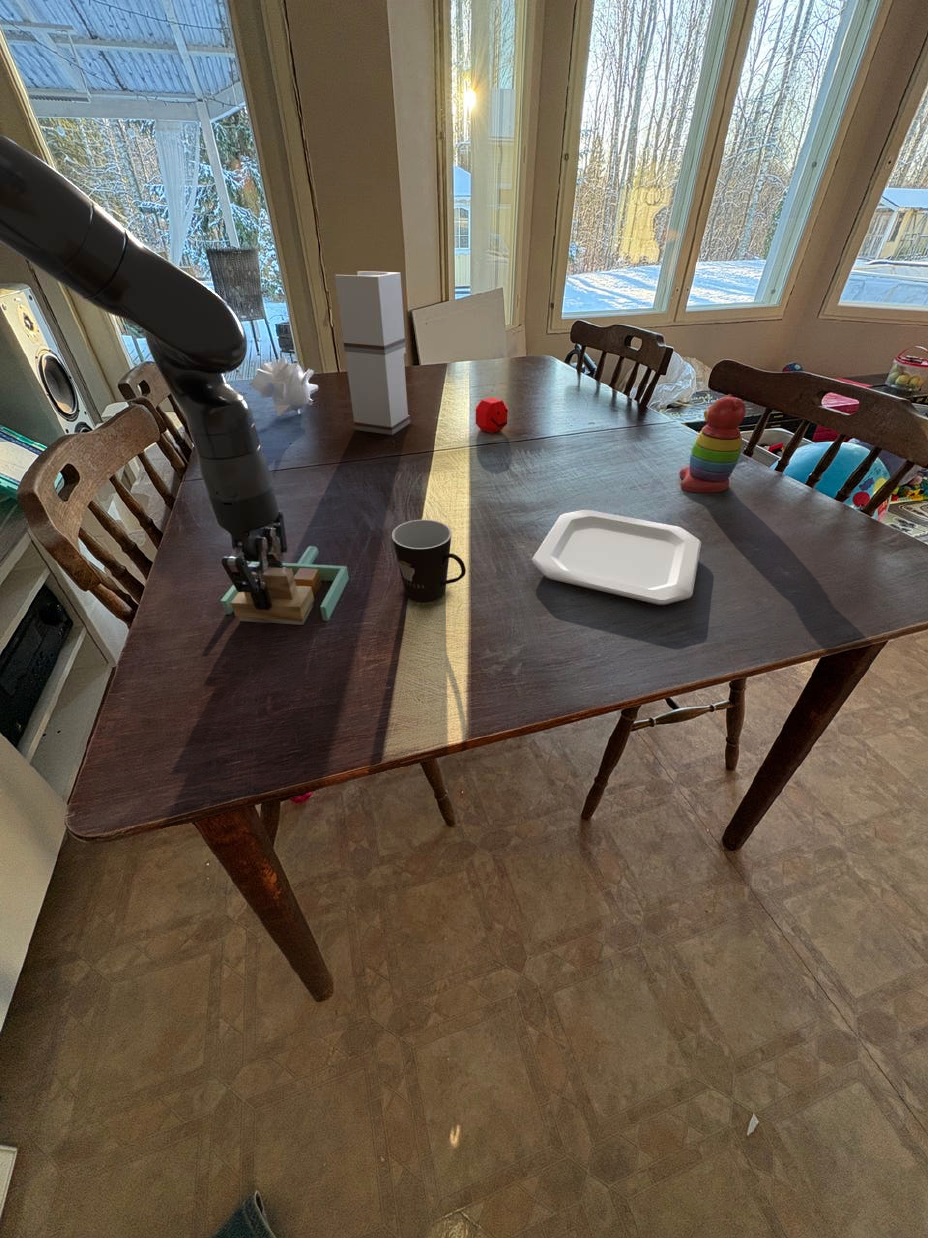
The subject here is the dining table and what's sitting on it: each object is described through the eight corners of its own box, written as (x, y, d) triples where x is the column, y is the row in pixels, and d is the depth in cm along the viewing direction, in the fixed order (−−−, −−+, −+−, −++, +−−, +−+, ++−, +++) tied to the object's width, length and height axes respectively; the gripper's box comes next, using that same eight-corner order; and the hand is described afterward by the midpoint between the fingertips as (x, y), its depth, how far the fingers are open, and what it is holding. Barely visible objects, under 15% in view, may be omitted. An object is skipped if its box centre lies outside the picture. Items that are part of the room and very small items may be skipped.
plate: (523, 581, 82) (524, 569, 80) (564, 515, 99) (566, 504, 98) (686, 620, 74) (690, 608, 72) (700, 541, 91) (703, 530, 90)
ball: (490, 436, 134) (491, 406, 129) (470, 429, 138) (470, 399, 134) (512, 430, 138) (513, 400, 133) (491, 422, 143) (492, 394, 138)
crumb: (315, 596, 79) (312, 579, 77) (297, 594, 79) (292, 578, 77) (322, 584, 81) (318, 569, 79) (303, 583, 81) (299, 568, 79)
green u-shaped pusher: (328, 621, 74) (325, 607, 72) (225, 614, 75) (220, 600, 74) (358, 559, 87) (356, 546, 85) (270, 554, 88) (267, 542, 87)
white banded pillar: (410, 422, 143) (400, 272, 121) (392, 434, 135) (377, 276, 114) (375, 418, 146) (358, 270, 125) (355, 429, 139) (334, 274, 117)
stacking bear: (678, 471, 116) (700, 387, 105) (726, 476, 113) (754, 391, 102) (680, 491, 108) (704, 402, 96) (731, 496, 105) (763, 407, 94)
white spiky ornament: (310, 373, 136) (263, 333, 133) (278, 426, 142) (233, 389, 140) (336, 377, 154) (295, 341, 152) (306, 423, 160) (267, 390, 158)
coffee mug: (390, 582, 81) (383, 526, 75) (440, 570, 84) (437, 515, 78) (416, 624, 73) (411, 565, 67) (470, 608, 76) (470, 550, 70)
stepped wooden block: (315, 605, 77) (306, 563, 72) (304, 626, 73) (293, 583, 68) (251, 601, 78) (238, 559, 73) (237, 622, 74) (221, 579, 69)
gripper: (236, 461, 69) (266, 568, 79) (179, 509, 57) (223, 626, 68) (290, 463, 68) (313, 570, 79) (243, 512, 57) (278, 630, 67)
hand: (272, 596), depth 73 cm, fingers closed on stepped wooden block, 5 cm apart
